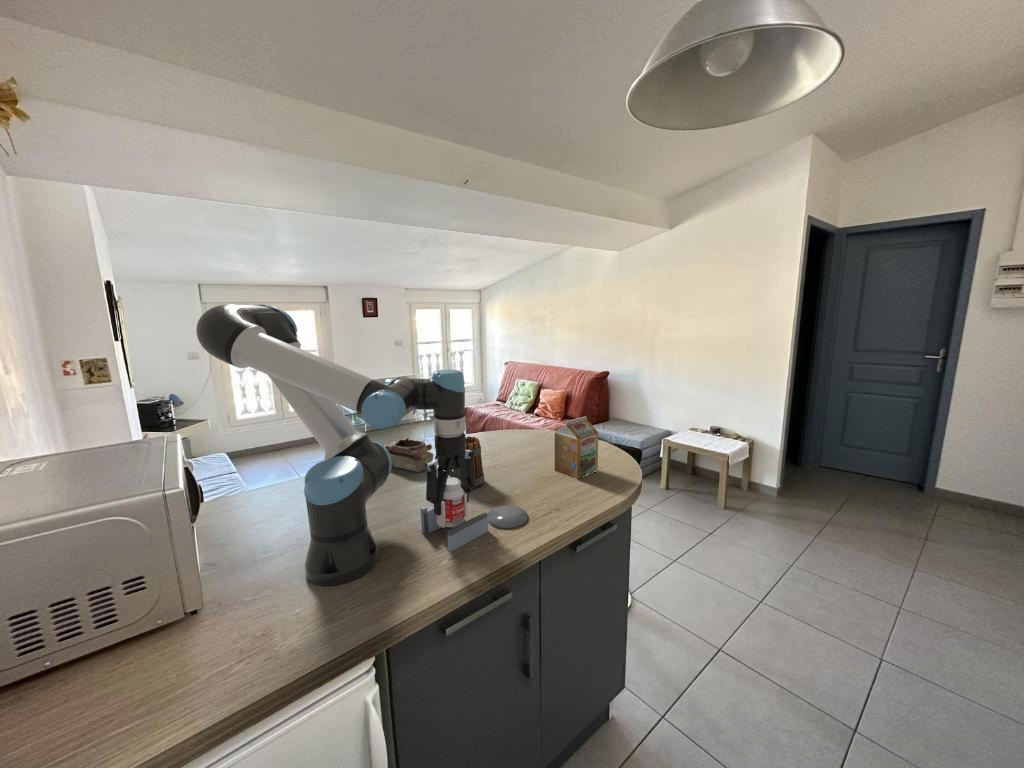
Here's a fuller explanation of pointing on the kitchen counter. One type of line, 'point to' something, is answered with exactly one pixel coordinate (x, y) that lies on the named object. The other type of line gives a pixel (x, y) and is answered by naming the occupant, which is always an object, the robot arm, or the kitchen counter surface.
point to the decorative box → (410, 454)
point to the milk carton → (576, 448)
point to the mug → (474, 461)
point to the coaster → (507, 517)
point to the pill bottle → (453, 502)
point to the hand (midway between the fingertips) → (452, 519)
